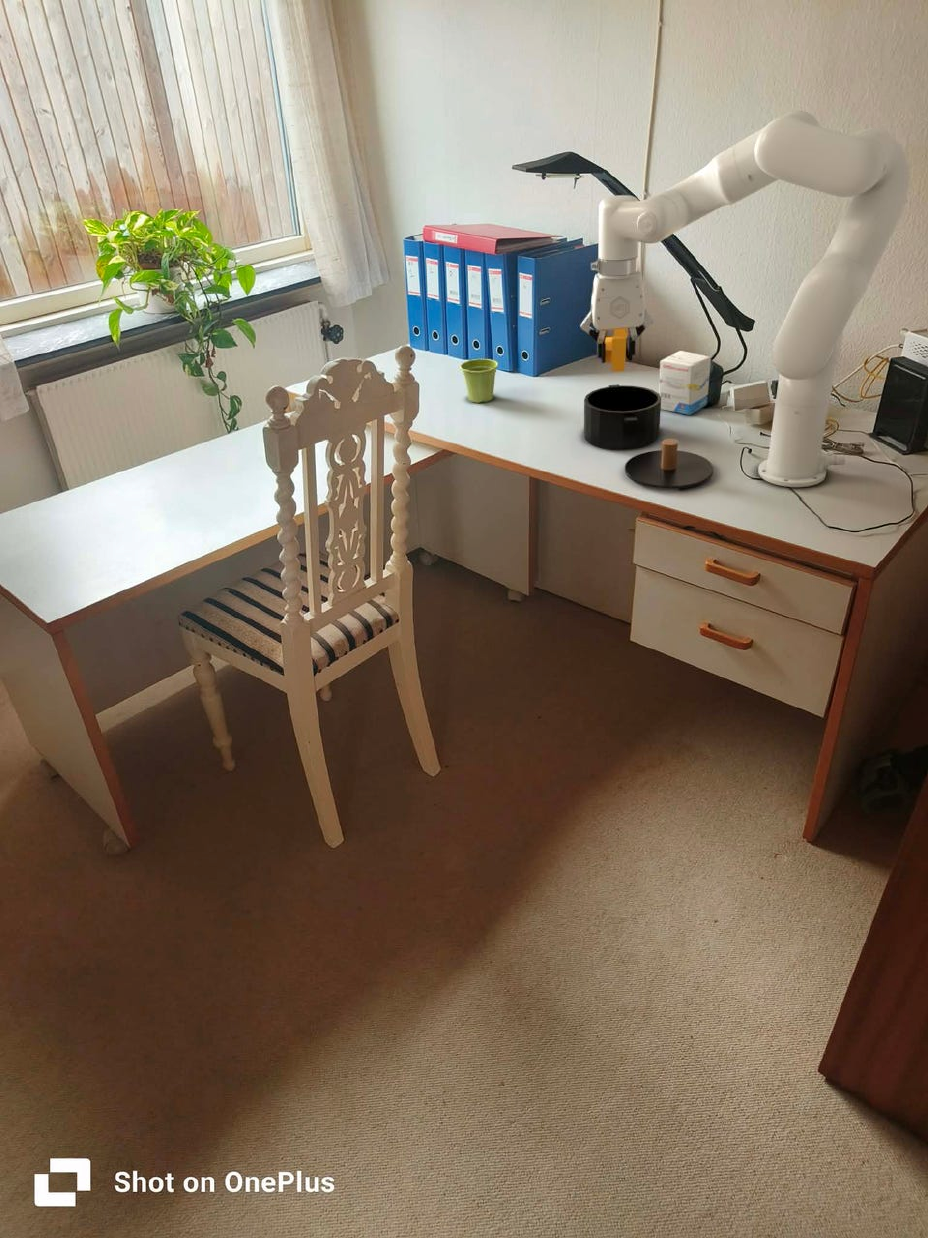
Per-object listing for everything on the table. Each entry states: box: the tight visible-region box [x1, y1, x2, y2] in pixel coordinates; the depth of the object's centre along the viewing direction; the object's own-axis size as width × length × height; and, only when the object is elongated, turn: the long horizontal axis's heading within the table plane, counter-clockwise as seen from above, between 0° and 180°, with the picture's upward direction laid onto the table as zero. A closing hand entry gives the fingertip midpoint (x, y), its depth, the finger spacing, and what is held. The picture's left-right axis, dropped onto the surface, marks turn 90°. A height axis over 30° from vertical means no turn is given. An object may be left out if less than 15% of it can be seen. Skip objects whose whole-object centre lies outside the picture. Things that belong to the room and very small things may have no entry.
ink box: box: [658, 350, 712, 416], centre depth 203 cm, size 9×8×12 cm
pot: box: [583, 384, 662, 451], centre depth 192 cm, size 16×22×8 cm
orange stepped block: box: [604, 328, 628, 372], centre depth 178 cm, size 12×4×6 cm, turn 169°
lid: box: [624, 438, 714, 490], centre depth 175 cm, size 17×17×7 cm
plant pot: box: [459, 358, 499, 403], centre depth 217 cm, size 9×9×9 cm
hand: (615, 358), depth 179 cm, fingers closed on orange stepped block, 4 cm apart
